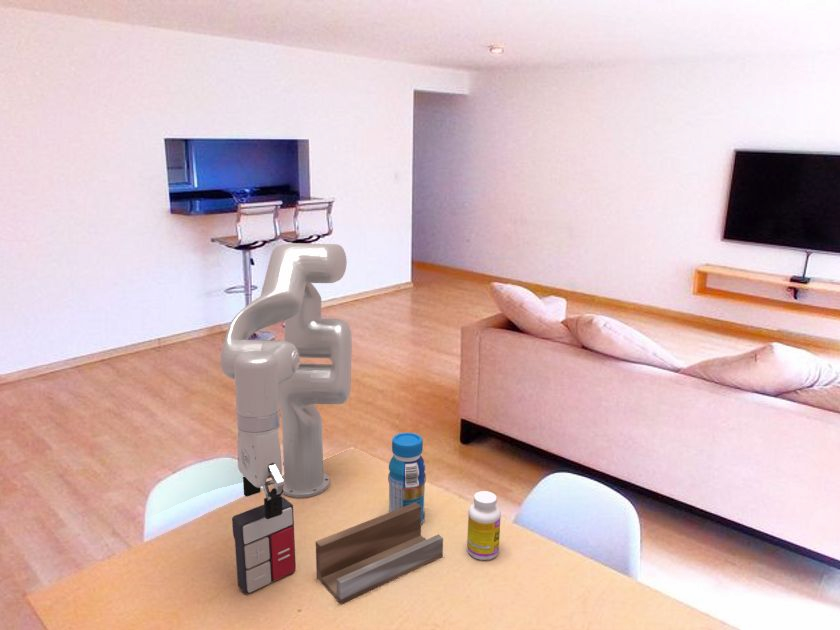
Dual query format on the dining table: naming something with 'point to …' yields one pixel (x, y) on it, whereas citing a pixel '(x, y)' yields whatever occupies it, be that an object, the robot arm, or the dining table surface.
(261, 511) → the calculator
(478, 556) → the supplement bottle
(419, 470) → the beverage bottle
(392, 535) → the wooden channel stand
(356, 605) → the dining table surface
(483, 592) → the dining table surface
